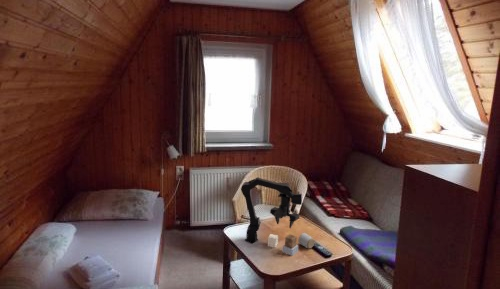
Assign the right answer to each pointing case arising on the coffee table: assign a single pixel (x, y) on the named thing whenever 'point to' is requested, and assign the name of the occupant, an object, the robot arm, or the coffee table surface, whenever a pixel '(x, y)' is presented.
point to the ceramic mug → (306, 240)
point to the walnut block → (290, 241)
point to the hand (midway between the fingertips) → (283, 226)
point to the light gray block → (290, 250)
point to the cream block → (272, 240)
